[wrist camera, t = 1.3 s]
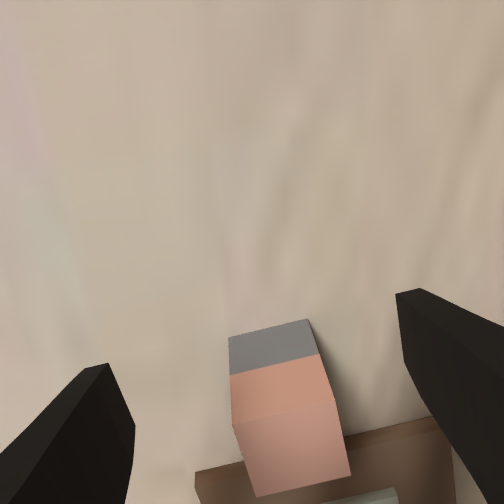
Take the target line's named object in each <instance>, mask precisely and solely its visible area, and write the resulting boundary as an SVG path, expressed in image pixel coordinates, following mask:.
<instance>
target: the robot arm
mask: <svg viewBox="0 0 504 504" xmlns="http://www.w3.org/2000/svg"><path fill="white" fill-rule="evenodd" d="M395 296H396V304H397V311H398V319H399V327H400V334H401V342H402V350H403V357H404V363H405V365H406V367H407V369H408V372H409V374H410V376H411V378H412V380H413V382H414V384H415V386H416V388H417V390H418V392H419V394H420V396H421V398H422V400H423V401H424V403H425V405H426V406H427V408H428V409H429V411H430V412H431V414H432V415H433V417H434V419H435V420H436V422H437V423H438V425H439V426H440V428H441V429H442V431H443V432H444V434H445V435H446V437H447V439H448V440H449V442H450V443H451V445H452V446H453V448H454V449H455V451H456V452H457V454H458V455H459V457H460V458H461V460H462V462H463V463H464V465H465V466H466V468H467V469H468V471H469V472H470V474H471V475H472V477H473V479H474V480H475V482H476V484H477V485H478V487H479V489H480V490H481V492H482V494H483V496H484V498H485V500H486V501H487V503H488V504H504V327H503V326H501V325H498V324H496V323H494V322H491V321H489V320H487V319H485V318H482V317H480V316H478V315H476V314H474V313H472V312H469V311H467V310H465V309H463V308H461V307H459V306H457V305H455V304H453V303H451V302H449V301H447V300H445V299H443V298H441V297H439V296H436V295H434V294H432V293H430V292H428V291H426V290H424V289H421V288H418V289H414V290H410V291H405V292H401V293H397V294H395ZM135 426H136V425H135V423H134V421H133V418H132V416H131V414H130V412H129V409H128V407H127V405H126V402H125V400H124V398H123V395H122V393H121V391H120V388H119V386H118V384H117V381H116V379H115V377H114V374H113V372H112V370H111V367H110V365H109V363H105V364H101V365H97V366H93V367H88V368H85V369H84V370H82V371H81V372H80V373H79V374H78V375H77V376H76V377H75V378H74V379H73V380H72V381H71V382H70V383H69V384H68V385H67V386H66V387H65V388H64V389H63V390H62V391H61V392H60V393H59V394H58V395H57V397H56V398H55V399H54V400H53V401H52V402H51V403H50V404H49V405H48V406H47V407H46V408H45V409H44V410H43V411H42V412H41V413H40V414H39V415H38V417H37V418H36V419H35V420H34V421H33V422H32V423H31V424H30V425H29V426H28V427H27V428H26V429H25V430H24V431H23V432H22V433H21V434H20V435H19V436H18V437H17V438H16V439H15V440H14V441H13V442H12V443H11V444H10V445H9V446H8V447H7V448H6V449H5V450H4V451H2V452H1V453H0V504H125V499H126V495H127V490H128V485H129V480H130V475H131V470H132V465H133V455H134V443H135Z"/></svg>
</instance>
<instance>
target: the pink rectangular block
mask: <svg viewBox="0 0 504 504" xmlns="http://www.w3.org/2000/svg"><path fill="white" fill-rule="evenodd" d="M228 340H229V364H230V389H231V413H232V426H233V429H234V432H235V435H236V438H237V441H238V444H239V447H240V450H241V453H242V456H243V459H244V462H245V465H246V468H247V471H248V474H249V477H250V480H251V483H252V486H253V489H254V492H255V495H256V498H257V497H261V496H265V495H270V494H274V493H278V492H283V491H287V490H291V489H296V488H300V487H304V486H308V485H313V484H317V483H321V482H326V481H330V480H334V479H339V478H343V477H347V476H351V472H350V467H349V463H348V458H347V453H346V449H345V444H344V439H343V435H342V430H341V425H340V421H339V416H338V411H337V407H336V402H335V398H334V396H333V393H332V390H331V387H330V384H329V381H328V378H327V375H326V372H325V369H324V366H323V363H322V360H321V357H320V354H319V351H318V348H317V345H316V342H315V339H314V336H313V334H312V331H311V328H310V325H309V322H308V319H303V320H299V321H294V322H290V323H286V324H282V325H278V326H274V327H270V328H266V329H262V330H258V331H254V332H249V333H245V334H241V335H237V336H233V337H229V338H228Z"/></svg>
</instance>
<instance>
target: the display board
mask: <svg viewBox="0 0 504 504" xmlns="http://www.w3.org/2000/svg"><path fill="white" fill-rule="evenodd" d="M343 439H344V444H345V449H346V453H347V458H348V463H349V467H350V472H351V476H347V477H343V478H339V479H334V480H330V481H326V482H321V483H317V484H313V485H308V486H304V487H300V488H296V489H291V490H287V491H283V492H278V493H274V494H270V495H265V496H261V497H257V498H256V495H255V492H254V489H253V486H252V483H251V480H250V477H249V474H248V471H247V468H246V465H245V462H244V461H241V462H237V463H233V464H229V465H224V466H220V467H216V468H212V469H208V470H203V471H199V472H195V490H196V492H197V495H198V497H199V500H200V502H201V504H456V496H455V486H454V475H453V465H452V455H451V445H450V442H449V440H448V439H447V437H446V435H445V434H444V432H443V431H442V429H441V428H440V426H439V425H438V423H437V422H436V420H435V419H434V417H433V416H432V417H427V418H423V419H419V420H415V421H411V422H406V423H402V424H398V425H394V426H389V427H385V428H381V429H377V430H372V431H368V432H364V433H360V434H356V435H351V436H347V437H343Z"/></svg>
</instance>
